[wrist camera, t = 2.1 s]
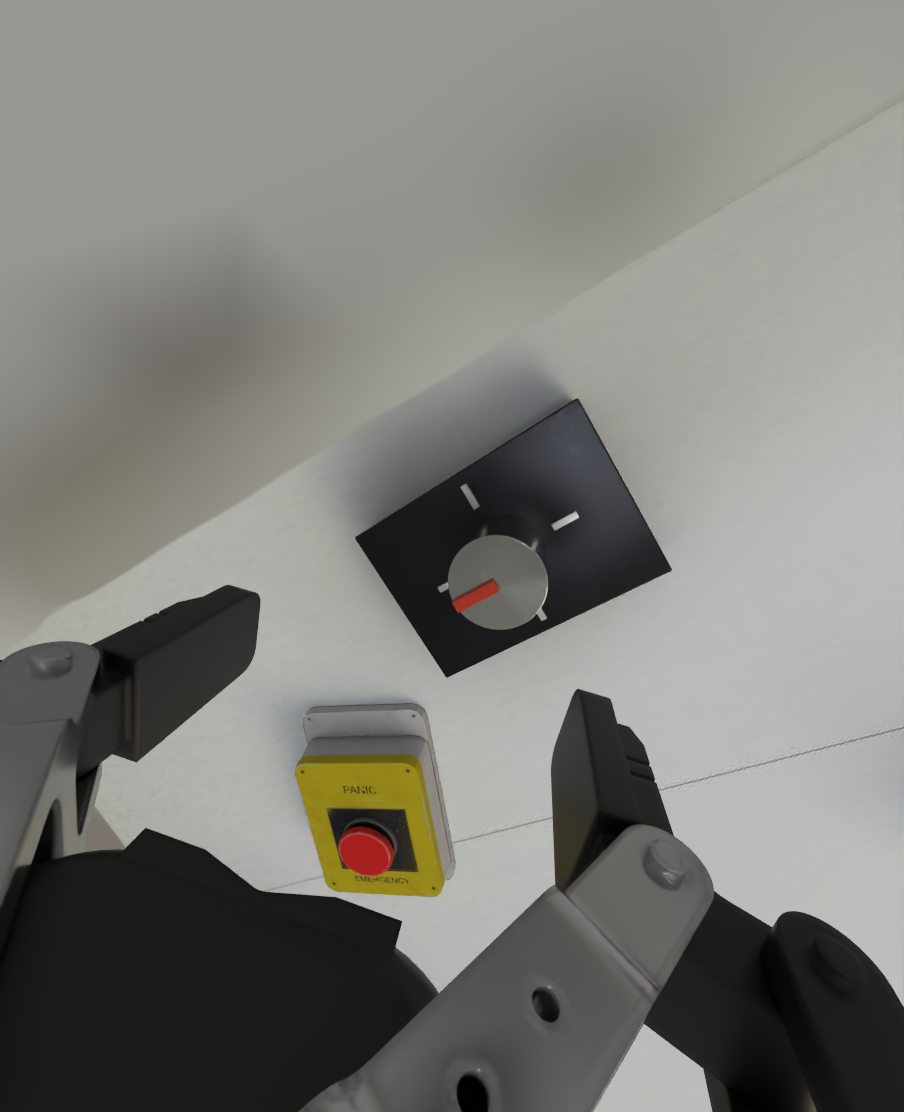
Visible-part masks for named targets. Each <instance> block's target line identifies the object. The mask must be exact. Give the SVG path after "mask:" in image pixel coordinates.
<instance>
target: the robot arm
mask: <svg viewBox="0 0 904 1112" xmlns="http://www.w3.org/2000/svg"><path fill="white" fill-rule="evenodd" d="M259 612H260V597H259V595H258V594H257V593H255V592H251V591H248V590H245V589H241V588H238V587H234V586H231V585H225V586H223V587H221V588H219V589H217V590H215V591H213V592H211V593H209V594H207V595H205V596H204V597H199V598H195V599H191V600H186V601H182V602H178V603H176V604H174V605H172V606H170V607H168V608H166V609H163V610H161V611H160V612H159V614H157V613H155V614H153V615H151V616H149V617H147V618H145V619H144V621H139V622H137V623H135V624H133V625H131V626H129V627H127V628H125V629H123V630H121V631H119V632H117V633H115V634H113V635H111V636H109V637H107V638H104V639H102V640H100V641H98V642H96V643H94V644H92V645H88V644H85V643H80V642H71V641H60V642H49V643H43V644H38V645H34V646H30V647H27V648H24V649H21V650H19V651H17V652H14V653H13V654H11V655H9V656H8V657H6V658H5V659H4V660H0V1112H594V1110H595V1108H596V1106H597V1105H598V1103H599V1101H600V1099H601V1098H602V1096H603V1094H604V1092H605V1091H606V1089H607V1087H608V1085H609V1084H610V1082H611V1080H612V1078H613V1077H614V1075H615V1073H616V1071H617V1070H618V1068H619V1066H620V1064H621V1063H622V1061H623V1059H624V1057H625V1056H626V1054H627V1052H628V1050H629V1049H630V1047H631V1045H632V1043H633V1042H634V1040H635V1038H636V1036H637V1035H638V1033H639V1031H640V1029H641V1028H642V1026H643V1024H645V1025H646V1026H648V1027H649V1028H650V1029H652V1030H653V1031H654V1032H656V1033H657V1034H658V1035H660V1036H661V1037H662V1038H664V1039H665V1040H666V1041H668V1042H669V1043H670V1044H672V1045H673V1046H674V1047H676V1048H677V1049H678V1050H680V1051H681V1052H682V1053H684V1054H685V1055H686V1056H688V1057H689V1058H690V1059H692V1060H693V1061H694V1062H695V1063H697V1064H698V1065H699V1066H701V1067H702V1068H703V1069H704V1074H705V1079H706V1083H707V1088H708V1093H709V1097H710V1102H711V1107H712V1111H713V1112H904V1007H903V1005H902V1004H901V1002H900V1000H899V999H898V997H897V995H896V993H895V992H894V990H893V988H892V987H891V985H890V984H889V982H888V981H887V979H886V978H885V976H884V975H883V974H882V972H881V971H880V970H879V968H878V967H877V966H876V965H875V964H874V963H873V961H872V960H871V959H870V958H869V957H868V956H867V955H866V954H865V953H864V952H863V951H862V950H861V949H860V948H859V947H858V946H857V945H855V944H854V943H853V942H852V941H851V940H850V939H849V938H847V937H846V936H845V935H843V934H842V933H841V932H839V931H838V930H836V929H835V928H833V927H832V926H830V925H829V924H827V923H825V922H824V921H822V920H820V919H818V918H816V917H813V916H811V915H808V914H805V913H802V912H796V911H791V912H786V913H783V914H782V915H781V916H780V917H779V918H778V920H777V921H776V923H775V924H774V926H773V927H771V926H769V925H767V924H766V923H764V922H762V921H761V920H759V919H757V918H756V917H754V916H752V915H751V914H749V913H747V912H746V911H744V910H742V909H741V908H739V907H737V906H736V905H734V904H732V903H730V902H729V901H727V900H726V899H724V898H723V897H721V896H720V895H719V894H717V893H716V892H715V891H714V888H713V883H712V880H711V877H710V875H709V873H708V871H707V869H706V868H705V866H704V865H703V863H702V862H701V861H700V859H699V858H698V857H697V856H696V855H695V854H694V853H693V852H692V850H691V849H690V848H688V847H687V846H686V845H685V844H684V843H683V842H681V841H680V840H679V839H677V838H676V837H674V835H673V832H672V829H671V826H670V823H669V820H668V817H667V814H666V811H665V808H664V805H663V802H662V799H661V796H660V793H659V790H658V787H657V784H656V783H655V782H654V780H655V778H654V775H653V772H652V769H651V767H649V764H650V763H649V760H648V757H647V754H646V751H645V748H644V745H643V744H642V742H641V741H640V740H639V739H638V737H637V736H636V735H635V734H634V732H633V731H632V730H631V729H630V727H627V726H624V725H621V724H617V721H616V717H615V714H614V710H613V706H612V702H611V700H610V699H609V698H607V697H603V696H600V695H597V694H593V693H590V692H586V691H583V690H580V689H577V690H576V691H575V693H574V694H573V697H572V699H571V702H570V705H569V708H568V710H567V713H566V716H565V719H564V722H563V724H562V727H561V730H560V733H559V735H558V738H557V741H556V744H555V748H554V752H553V757H552V764H551V783H552V808H553V834H554V860H555V885H553V886H552V887H550V888H549V889H547V890H546V891H545V892H544V893H543V894H542V895H541V896H540V897H539V898H538V899H537V900H536V901H535V902H534V903H533V904H532V905H531V906H529V907H528V908H527V909H526V910H525V911H524V912H523V913H522V914H521V915H520V916H519V917H518V918H517V919H516V920H515V921H514V922H513V923H512V924H511V925H510V926H509V927H508V928H507V929H506V930H505V931H503V932H502V933H501V934H500V935H499V936H498V937H497V938H496V939H495V940H494V941H493V942H492V943H491V944H490V945H489V946H488V947H487V948H486V949H485V950H484V951H483V952H482V953H481V954H480V955H479V956H478V957H476V958H475V959H474V960H473V961H472V962H471V963H470V964H469V965H468V966H467V967H466V968H465V969H464V970H463V971H462V972H461V973H460V974H459V975H458V976H457V977H456V978H455V979H454V980H453V981H452V982H450V983H449V984H448V985H447V986H446V987H445V988H444V989H443V990H442V991H441V992H440V993H438V991H437V990H436V988H435V987H434V985H433V984H432V983H431V982H430V980H429V979H428V978H427V977H426V975H425V974H424V973H423V972H422V971H421V970H420V969H419V968H418V967H417V966H416V965H415V964H414V963H413V962H412V961H411V960H410V959H409V958H408V957H407V956H406V955H405V954H403V953H402V952H401V951H400V950H398V949H397V948H396V947H395V946H396V942H397V938H398V935H399V931H400V927H401V924H402V921H400V920H397V919H394V918H391V917H389V916H386V915H383V914H380V913H378V912H375V911H372V910H369V909H367V908H364V907H361V906H358V905H356V904H353V903H350V902H348V901H345V900H342V899H339V898H337V897H325V896H312V895H299V894H286V893H273V892H264V891H260V890H257V889H256V888H254V887H252V886H251V885H250V884H249V883H247V882H246V881H245V880H244V879H242V878H241V877H240V876H238V875H237V874H236V873H235V872H233V871H232V870H231V869H229V868H228V867H227V866H226V865H224V864H223V863H222V862H221V861H219V860H218V859H217V858H215V857H214V856H213V855H212V854H210V853H209V852H208V851H206V850H205V849H202V848H199V847H197V846H194V845H191V844H188V843H186V842H183V841H180V840H177V839H175V838H172V837H169V836H166V835H164V834H161V833H158V832H155V831H153V830H150V829H147V828H145V829H144V830H143V831H142V832H141V833H140V834H139V835H138V836H137V837H136V838H135V839H134V840H133V841H132V842H131V843H130V844H129V845H128V846H127V847H126V848H125V850H120V849H118V850H99V851H91V852H84V853H83V850H84V846H85V842H86V838H87V833H88V829H89V825H90V821H91V817H92V812H93V808H94V804H95V800H96V796H97V792H98V788H99V783H100V779H101V775H102V761H104V760H105V759H106V758H108V757H109V756H110V755H111V754H114V755H117V756H120V757H123V758H125V759H128V760H131V761H134V762H137V761H139V760H140V759H141V758H142V757H143V756H145V755H146V754H147V753H148V752H149V751H151V750H152V749H153V748H154V747H155V746H156V745H158V744H159V743H160V742H161V741H162V740H164V739H165V738H166V737H167V736H168V735H170V734H171V733H172V732H173V731H174V730H176V729H177V728H178V727H179V726H180V725H181V724H183V723H184V722H185V721H186V720H187V719H189V718H190V717H191V716H192V715H193V714H195V713H196V712H197V711H198V710H199V709H201V708H202V707H203V706H204V705H205V704H207V703H208V702H209V701H210V700H211V699H212V698H214V697H215V696H216V695H217V694H218V693H220V692H221V691H222V690H223V689H224V688H226V687H227V686H228V685H229V684H230V683H232V682H233V681H234V680H235V679H236V678H237V677H239V676H240V675H241V674H242V673H243V672H244V671H245V670H246V669H247V668H248V666H249V665H250V663H251V661H252V659H253V656H254V653H255V649H256V640H257V631H258V621H259Z"/></svg>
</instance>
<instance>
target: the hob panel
mask: <svg viewBox="0 0 904 1112" xmlns="http://www.w3.org/2000/svg"><path fill="white" fill-rule="evenodd" d="M497 514H512V515H517V516H520V517H522V518H524V519H526V520H528V521H529V522H531V523H532V524H533V525H534V526H535V527H536V528H537V529H538V530H539V532H540V533H541V535H542V537H543V539H544V542H545V546H546V554H547V570H548V592H547V596H546V599H545V602H544V604H543V606H542V608H541V609H540V610H539V612H538V613H537V614H536V615H535V616H534V617H533V618H532V619H530V620H529V621H528V622H526V623H524V624H523V625H520V626H518V627H515V628H511V629H505V630H495V629H488V628H484V627H482V626H479V625H477V624H475V623H473V622H471V621H470V620H468V619H467V618H466V617H465V616H463V615H462V613H461V612H459V613H458V612H457V611H456V609H455V607H454V606H453V604H452V602H453V601H452V598H451V596H450V592H449V588H448V574H449V569H450V566H451V563H452V561H453V559H454V557H455V556H456V554H457V553H458V551H459V549H460V548H461V546H462V545H463V543H464V542H465V540H466V538H467V537H468V535H469V534H470V532H471V531H472V529H473V528H474V527H475V526H476V525H477V524H478V523H479V522H481V521H482V520H484V519H485V518H487V517H490V516H493V515H497ZM355 539H356V541H357V542H358V544H359V545H360V547H361V548H362V550H363V551H364V553H365V554H366V556H367V557H368V559H369V560H370V562H371V563H372V565H373V566H374V568H375V569H376V571H377V573H378V574H379V576H380V577H381V579H382V580H383V582H384V583H385V585H386V586H387V588H388V589H389V591H390V592H391V594H392V595H393V597H394V598H395V600H396V601H397V603H398V604H399V606H400V608H401V609H402V611H403V612H404V614H405V615H406V617H407V618H408V620H409V621H410V623H411V624H412V626H413V627H414V629H415V630H416V632H417V633H418V635H419V636H420V638H421V640H422V641H423V643H424V644H425V646H426V647H427V649H428V650H429V652H430V653H431V655H432V656H433V658H434V659H435V661H436V662H437V664H438V665H439V667H440V668H441V670H442V672H443V673H444V675H445V676H446V677H449V676H451V675H454V674H456V673H458V672H460V671H462V670H464V669H466V668H468V667H470V666H472V665H475V664H477V663H479V662H481V661H483V660H485V659H487V658H489V657H491V656H493V655H496V654H498V653H500V652H502V651H504V650H506V649H508V648H510V647H512V646H514V645H517V644H519V643H521V642H523V641H525V640H527V639H529V638H531V637H533V636H535V635H538V634H540V633H542V632H544V631H546V630H548V629H550V628H552V627H554V626H556V625H559V624H561V623H563V622H565V621H567V620H569V619H571V618H573V617H575V616H577V615H580V614H582V613H584V612H586V611H588V610H590V609H592V608H594V607H596V606H598V605H601V604H603V603H605V602H607V601H609V600H611V599H613V598H615V597H617V596H619V595H622V594H624V593H626V592H628V591H630V590H632V589H634V588H636V587H638V586H640V585H643V584H645V583H647V582H649V581H651V580H653V579H655V578H657V577H659V576H661V575H664V574H666V573H668V572H670V571H671V570H672V569H671V567H670V565H669V563H668V561H667V560H666V558H665V556H664V554H663V552H662V550H661V549H660V547H659V545H658V543H657V541H656V539H655V538H654V536H653V534H652V532H651V530H650V529H649V527H648V525H647V523H646V521H645V519H644V518H643V516H642V514H641V512H640V510H639V508H638V507H637V505H636V503H635V501H634V499H633V497H632V496H631V494H630V492H629V490H628V488H627V487H626V485H625V483H624V481H623V479H622V477H621V476H620V474H619V472H618V470H617V468H616V466H615V465H614V463H613V461H612V459H611V457H610V456H609V454H608V452H607V450H606V448H605V446H604V445H603V443H602V441H601V439H600V437H599V435H598V434H597V432H596V430H595V428H594V426H593V424H592V423H591V421H590V419H589V417H588V415H587V414H586V412H585V410H584V408H583V406H582V404H581V403H580V401H579V399H578V398H577V399H575V400H573V401H572V402H570V403H568V404H567V405H565V406H564V407H562V408H560V409H559V410H557V411H556V412H554V413H552V414H551V415H549V416H548V417H546V418H544V419H543V420H541V421H540V422H538V423H537V424H535V425H533V426H532V427H530V428H529V429H527V430H525V431H524V432H522V433H521V434H519V435H517V436H516V437H514V438H513V439H511V440H509V441H508V442H506V443H505V444H503V445H501V446H500V447H498V448H497V449H495V450H493V451H492V452H490V453H489V454H487V455H486V456H484V457H482V458H481V459H479V460H478V461H476V462H474V463H473V464H471V465H470V466H468V467H466V468H465V469H463V470H462V471H460V472H458V473H457V474H455V475H454V476H452V477H450V478H449V479H447V480H446V481H444V482H442V483H441V484H439V485H438V486H436V487H434V488H433V489H431V490H430V491H428V492H427V493H425V494H423V495H422V496H420V497H419V498H417V499H415V500H414V501H412V502H411V503H409V504H407V505H406V506H404V507H403V508H401V509H399V510H398V511H396V512H395V513H393V514H391V515H390V516H388V517H387V518H385V519H383V520H382V521H380V522H379V523H377V524H376V525H374V526H372V527H371V528H369V529H368V530H366V531H364V532H363V533H361V534H360V535H358V536H356V537H355Z"/></svg>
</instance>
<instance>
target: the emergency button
mask: <svg viewBox="0 0 904 1112" xmlns="http://www.w3.org/2000/svg"><path fill="white" fill-rule="evenodd" d="M303 728H304V731H305V735H306V739H307V742H308V747H307V748H306V750H305V752H304V754H303V756H302V758H301V759H300V760H299V762H298V764H297V766H296V768H295V776H296V779H297V783H298V786H299V790H300V793H301V797H302V800H303V804H304V808H305V811H306V815H307V818H308V822H309V825H310V829H311V832H312V836H313V839H314V843H315V847H316V850H317V854H318V857H319V861H320V864H321V868H322V871H323V875H324V878H325V882H326V884H327V885H328V887H329V888H331V889H332V890H334V891H338V892H352V893H370V894H388V895H406V896H424V897H434V896H437V895H439V894H440V893H441V891H442V888H443V885H444V881H445V880H450V878H451V877H452V876H453V874H454V869H455V858H454V853H453V848H452V842H451V837H450V832H449V827H448V821H447V816H446V811H445V806H444V801H443V795H442V790H441V785H440V780H439V774H438V769H437V764H436V759H435V753H434V748H433V743H432V738H431V733H430V727H429V722H428V717H427V715H426V713H425V710H424V709H422V708H421V707H420V706H419V705H415V704H389V705H362V706H334V707H315V708H312V709H310V710H309V711H308V713H307V714H306V716H305V717H304V719H303Z"/></svg>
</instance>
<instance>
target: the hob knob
mask: <svg viewBox="0 0 904 1112" xmlns="http://www.w3.org/2000/svg"><path fill="white" fill-rule="evenodd" d="M448 588H449V592H450V596H451V598H452V601H453V602H452V604H453V606H454V607H455V609H456V611H457V612H458V613H459V612H461V613H462V615H463V616H465V617H466V618H467V619H468V620H470V621H471V622H473V623H475V624H477V625H479V626H482V627H484V628H488V629H495V630H505V629H511V628H515V627H518V626H520V625H523V624H524V623H526V622H528V621H529V620H530V619H532V618H533V617H534V616H535V615H536V614H537V613H538V612H539V610H540V609H541V608H542V606H543V604H544V602H545V599H546V596H547V592H548V570H547V554H546V546H545V542H544V539H543V537H542V535H541V533H540V532H539V530H538V529H537V528H536V527H535V526H534V525H533V524H532V523H531V522H529V521H528V520H526V519H524V518H522V517H520V516H517V515H512V514H497V515H493V516H490V517H487V518H485V519H484V520H482V521H481V522H479V523H478V524H477V525H476V526H475V527H474V528H473V529H472V531H471V532H470V534H469V535H468V537H467V538H466V540H465V542H464V543H463V545H462V546H461V548H460V549H459V551H458V553H457V554H456V556H455V557H454V559H453V561H452V563H451V566H450V569H449V574H448Z"/></svg>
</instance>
